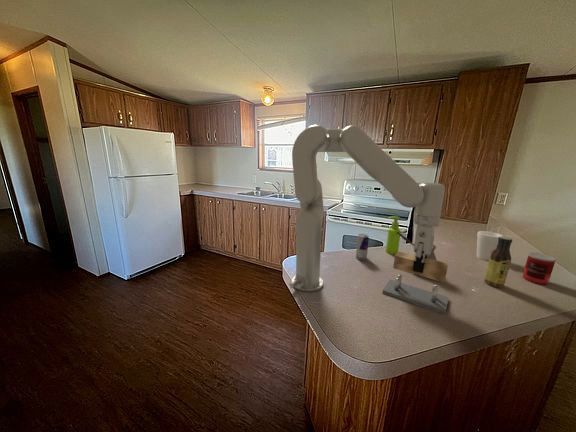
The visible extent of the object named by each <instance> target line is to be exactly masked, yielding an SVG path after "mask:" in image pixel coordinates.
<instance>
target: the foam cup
mask: <svg viewBox="0 0 576 432" xmlns="http://www.w3.org/2000/svg"><path fill="white" fill-rule="evenodd" d="M476 237H477V238H476V239H477V242H476V257H477V258H478V259H481V260H484V261H489V259H490V256H491V253H492V251H493V250H494V249H496V248H497V245H498V238H499V237H504V235H502V234H501V233H496V232H494V231H488V230H487V231H486V230H479V231H477V235H476Z"/></svg>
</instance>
